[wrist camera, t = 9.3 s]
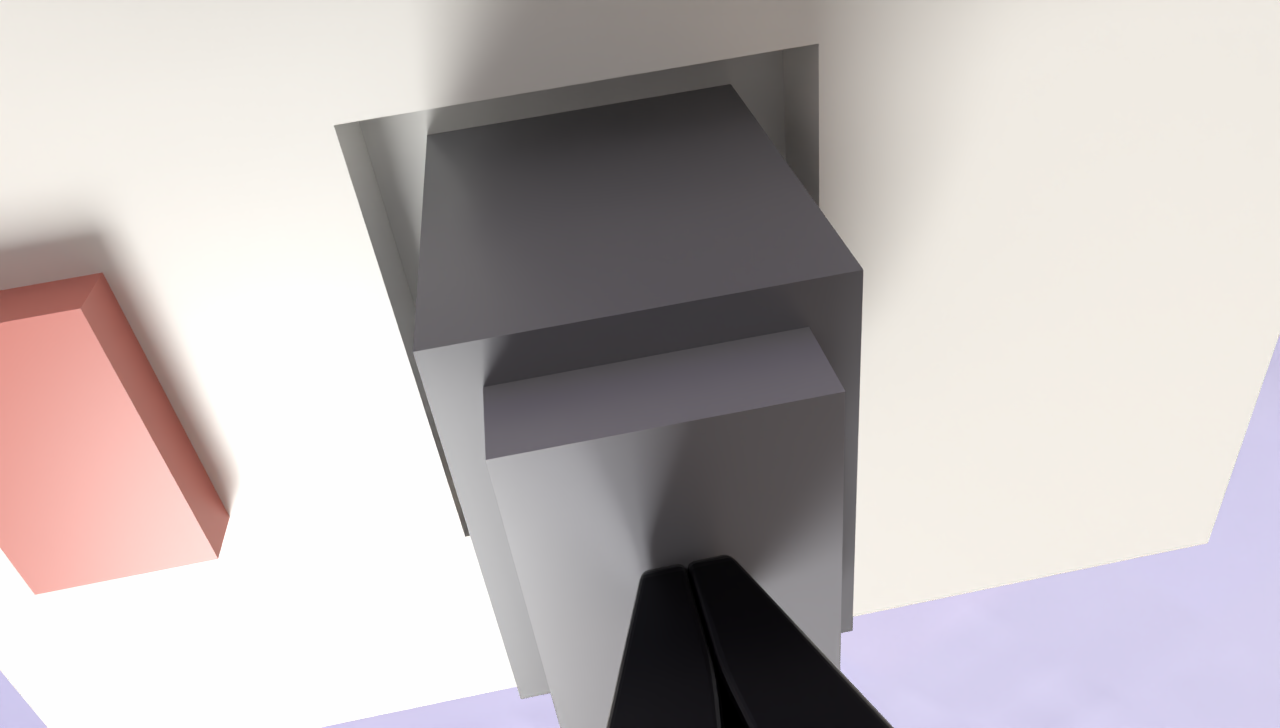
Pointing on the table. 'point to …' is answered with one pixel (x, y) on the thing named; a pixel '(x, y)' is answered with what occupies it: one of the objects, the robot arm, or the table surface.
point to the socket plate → (387, 288)
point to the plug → (637, 373)
